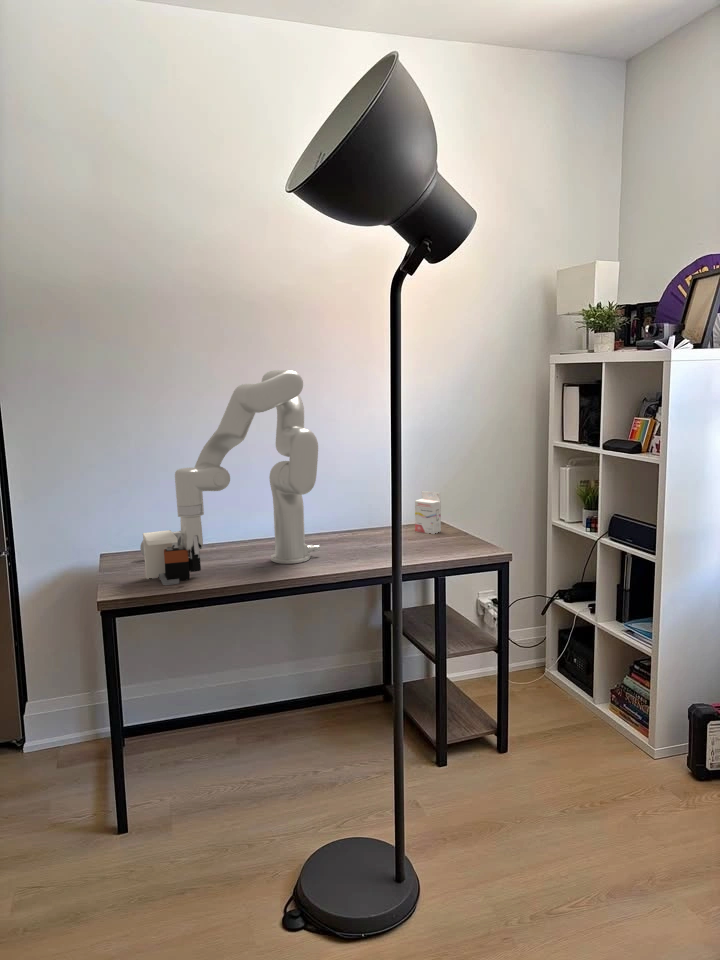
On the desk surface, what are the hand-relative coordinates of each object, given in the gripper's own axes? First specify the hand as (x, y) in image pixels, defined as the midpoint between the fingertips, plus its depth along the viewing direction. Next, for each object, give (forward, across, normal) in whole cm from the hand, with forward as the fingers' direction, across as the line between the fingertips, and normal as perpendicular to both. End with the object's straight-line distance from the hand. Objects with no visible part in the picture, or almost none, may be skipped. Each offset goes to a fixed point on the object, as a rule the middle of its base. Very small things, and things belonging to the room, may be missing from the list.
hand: (195, 570), depth 218 cm
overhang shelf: (+2, 0, -10) cm, 10 cm away
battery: (+2, 0, -5) cm, 6 cm away
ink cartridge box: (+3, -19, +89) cm, 91 cm away
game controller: (+2, -29, -2) cm, 29 cm away
